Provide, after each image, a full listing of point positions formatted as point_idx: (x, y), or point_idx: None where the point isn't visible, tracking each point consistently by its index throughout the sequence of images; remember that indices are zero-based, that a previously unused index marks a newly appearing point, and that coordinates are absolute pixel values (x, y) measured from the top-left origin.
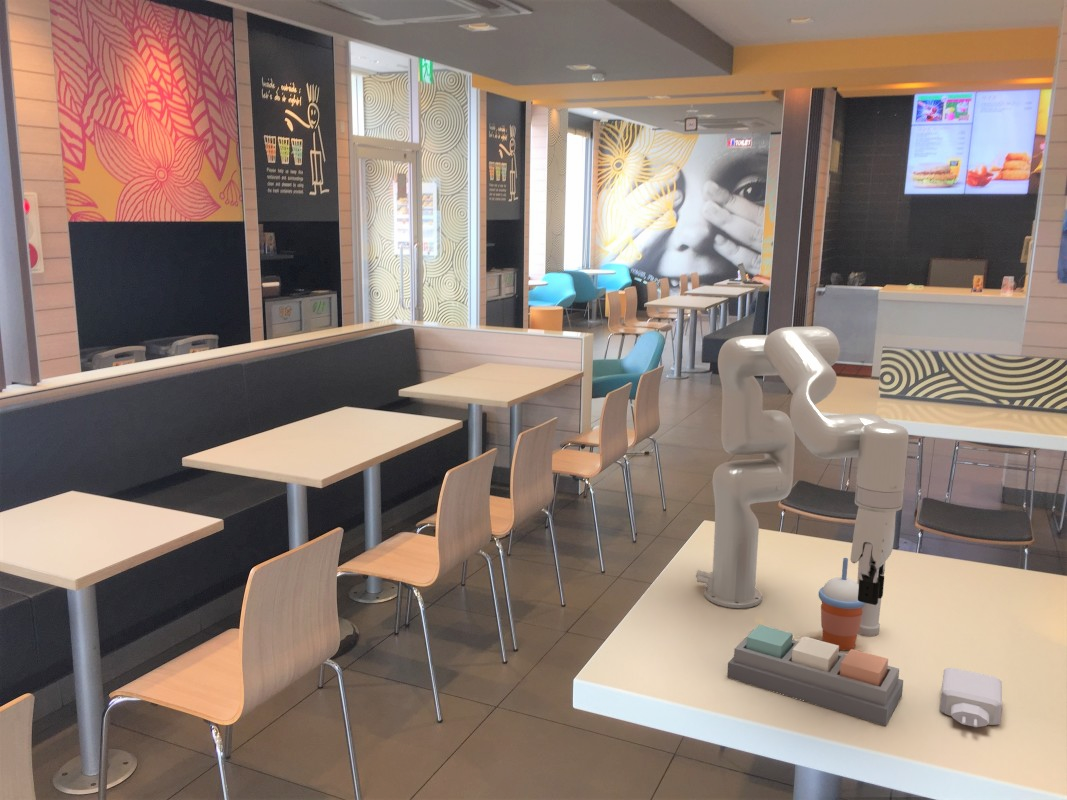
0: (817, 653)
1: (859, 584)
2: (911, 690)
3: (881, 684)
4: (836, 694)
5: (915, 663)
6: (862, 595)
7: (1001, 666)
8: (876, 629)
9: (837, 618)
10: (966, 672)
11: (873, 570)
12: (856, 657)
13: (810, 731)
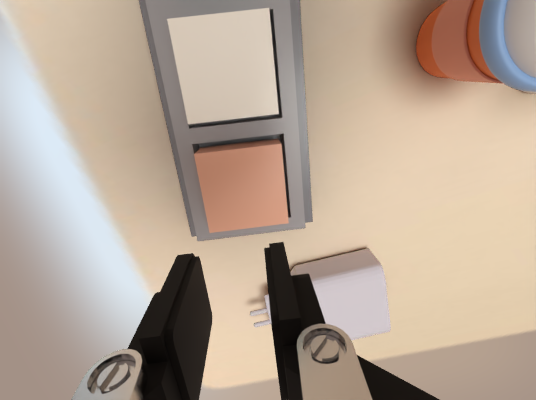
0: (197, 87)
1: (151, 312)
2: (334, 215)
3: None
4: (173, 152)
5: (434, 189)
6: (152, 300)
7: (488, 284)
8: (533, 92)
9: (459, 33)
10: (380, 297)
11: (297, 392)
12: (247, 170)
13: (85, 141)
